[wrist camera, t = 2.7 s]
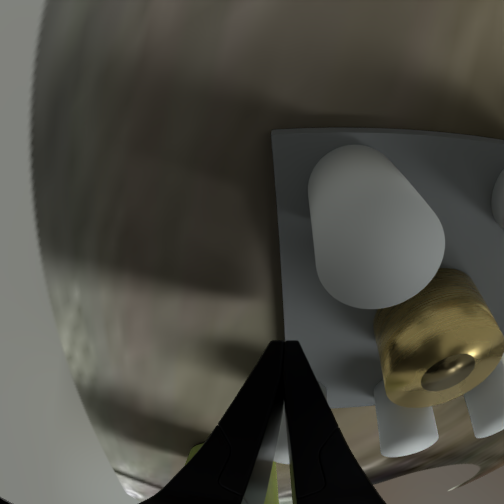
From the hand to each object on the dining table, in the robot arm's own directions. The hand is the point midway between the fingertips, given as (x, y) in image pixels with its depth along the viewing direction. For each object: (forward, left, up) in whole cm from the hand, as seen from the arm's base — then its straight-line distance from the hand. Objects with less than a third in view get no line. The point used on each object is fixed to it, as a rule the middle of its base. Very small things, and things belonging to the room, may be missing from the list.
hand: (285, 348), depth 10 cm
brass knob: (-5, 0, -1) cm, 5 cm away
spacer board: (-7, 0, -2) cm, 7 cm away
